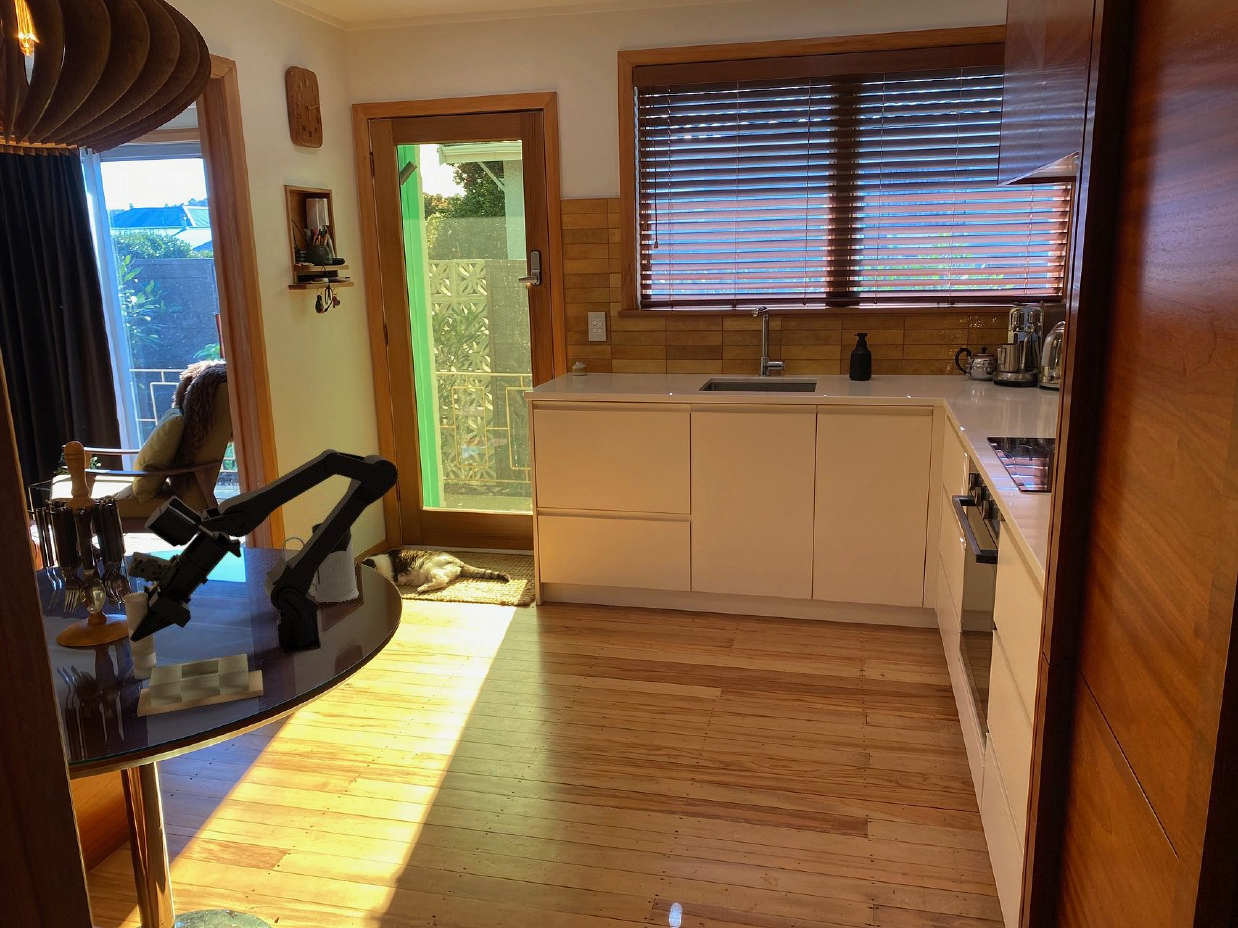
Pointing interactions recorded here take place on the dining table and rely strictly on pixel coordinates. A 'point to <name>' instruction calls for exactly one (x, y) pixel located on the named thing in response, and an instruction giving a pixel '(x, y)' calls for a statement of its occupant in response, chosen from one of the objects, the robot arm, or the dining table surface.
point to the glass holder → (335, 571)
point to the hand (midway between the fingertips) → (131, 636)
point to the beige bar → (145, 647)
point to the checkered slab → (199, 684)
